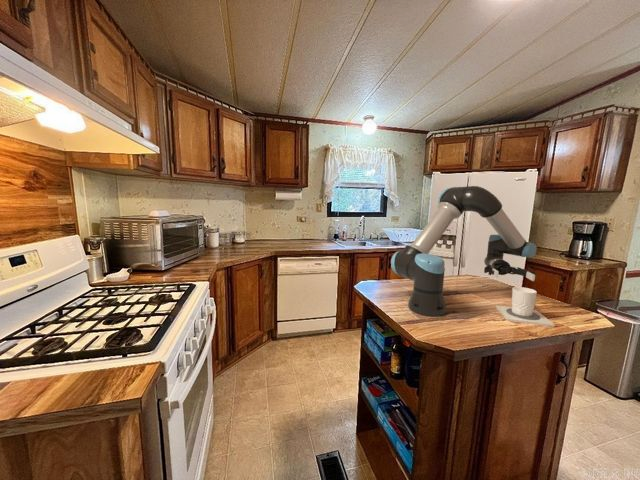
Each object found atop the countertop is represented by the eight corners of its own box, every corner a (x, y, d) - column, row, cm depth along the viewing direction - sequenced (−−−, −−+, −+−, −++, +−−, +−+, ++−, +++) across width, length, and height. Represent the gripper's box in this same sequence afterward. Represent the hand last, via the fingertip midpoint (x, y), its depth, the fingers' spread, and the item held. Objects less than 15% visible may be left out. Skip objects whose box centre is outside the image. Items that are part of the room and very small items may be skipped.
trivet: (507, 320, 103) (507, 318, 103) (495, 307, 117) (495, 304, 117) (554, 326, 98) (554, 324, 98) (536, 311, 112) (536, 309, 112)
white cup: (524, 318, 103) (526, 293, 102) (505, 310, 110) (507, 287, 109) (539, 316, 105) (542, 292, 104) (519, 308, 112) (522, 286, 111)
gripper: (527, 276, 133) (548, 288, 113) (471, 271, 141) (482, 281, 121) (529, 261, 132) (550, 270, 112) (473, 257, 140) (483, 265, 120)
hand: (515, 276), depth 116 cm, fingers open, 13 cm apart
